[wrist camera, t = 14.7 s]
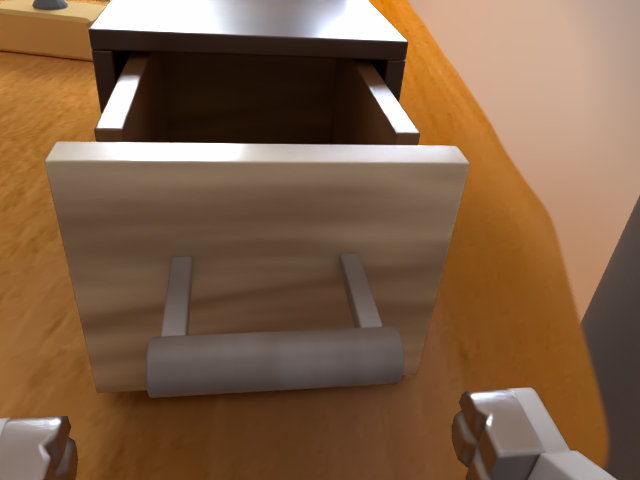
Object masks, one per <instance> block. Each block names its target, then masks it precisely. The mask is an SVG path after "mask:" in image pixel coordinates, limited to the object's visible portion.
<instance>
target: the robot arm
mask: <svg viewBox="0 0 640 480" xmlns="http://www.w3.org/2000/svg"><path fill="white" fill-rule="evenodd" d="M459 404H460V407H461V409H462V410H461V411H460V412H459V413H458V414H456V415H455V416H454V419H453V423H452V442H453V446H454V450H455V453H456V456H457V458H458V460H459V461H460V462H461V463H463V464H464V465H465V466H466V467H467V468H468V471H467V474H466V478H465V479H466V480H617V479H615V478H614V477H612V476H611V475H610V474H608V473H607V472H606V471H604V470H603V469H601V468H600V467H599V466H597V465H596V464H595V463H593V462H592V461H590V460H589V459H588V458H586V457H585V456H584V455H582V454H581V453H579V452H578V451H570V449H569V447H568V446H567V444H566V442H565V441H564V439H563V437H562V435H561V434H560V432H559V430H558V429H557V427H556V425H555V424H554V422H553V420H552V419H551V417H550V415H549V413H548V412H547V410H546V408H545V407H544V405H543V403H542V402H541V400H540V398H539V396H538V395H537V393H536V391H534V390H533V389H532V388H514V389H506V388H505V389H491V390H478V391H465V392H464V393H463V394H462V395H461V398H460V401H459ZM70 429H71V425H70V422H69V419H68V416H50V417H20V418H0V480H76V475H77V464H78V455H77V447H76V443H75V441H74V440H73V439H71V438H69V437H68V436H69V433H70Z"/></svg>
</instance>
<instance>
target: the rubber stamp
mask: <svg viewBox="0 0 640 480" xmlns="http://www.w3.org/2000/svg"><path fill="white" fill-rule="evenodd" d="M106 6H107V5H99V4H90V3H80V2H71V1H64V0H6V1H3V2H0V50H1V51H10V52H19V53H27V54H36V55H45V56H53V57H62V58H70V59H79V60H88V61H93V58H92V50H93V49H91V45H90V39H89V33H88V29H89V28H90V26H91V25H92V24H93V23H94V21H95V20H96V19H97V17H98V16H99V15H100V14H101V12H102V11H103V10H104V9H105V7H106Z"/></svg>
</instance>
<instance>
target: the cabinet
mask: <svg viewBox="0 0 640 480" xmlns="http://www.w3.org/2000/svg"><path fill="white" fill-rule="evenodd" d="M88 33H89V39H90V45H91V49H93V50H92V58H93V64H94V71H95V77H96V84H97V90H98V97H99V103H100V109H101V114H102V112H103V110H104V108H105V106H106V104H107V102H108V100H109V98H110V96H111V93H112V91H113V89H114V87H115V85H116V83H117V81H118V79H119V77H120V75H121V72H122V70H123V68H124V66H125V64H126V62H127V60H128V58H129V56H130V54H131V52H132V51H147V52H175V53H203V54H231V55H260V56H288V57H316V58H344V59H369V61H370V62H371V64H372V65H373V67H374V68H375V69H376V71H377V72H378V74H379V75H380V77H381V78H382V79H383V81H384V82H385V84H386V85H387V87H388V88H389V90H390V91H391V92H392V94H393V95H394V97H395V98H396V100H397V101H398V103H399V98H400V92H401V86H402V80H403V74H404V67H405V61H404V60H405V59H406V54H407V47H408V42H407V40H406V39H405V38H404V37H403V36H402V35H401V34H400V33H399V32H398V31H397V30H396V29H395V28H394V27H393V26H392V25H391V24H390V23H389V22H388V21H387V20H386V19H385V18H384V17H383V16H382V15H381V14H380V13H379V12H378V11H377V9H376V8H375V7H374V6H373V5H372V4H371V3H370V2H369V1H368V0H111V1H110V2H109V3H108V5H107V6H106V7H105V9H104V10H103V11H102V12H101V14H100V15H99V16H98V17H97V19H96V20H95V21H94V23H93V24H92V25H91V26H90V28H89V29H88Z"/></svg>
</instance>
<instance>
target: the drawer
mask: <svg viewBox="0 0 640 480" xmlns="http://www.w3.org/2000/svg"><path fill="white" fill-rule="evenodd" d="M94 132H95V138H96V142H56V143H55V144H54V146H53V148H52V149H51V151H50V153H49V155H48V156H47V158H46V160H45V166H46V170H47V175H48V179H49V184H50V188H51V192H52V197H53V201H54V206H55V210H56V214H57V219H58V223H59V227H60V232H61V236H62V241H63V245H64V249H65V254H66V258H67V263H68V267H69V271H70V276H71V280H72V285H73V289H74V293H75V298H76V302H77V307H78V311H79V315H80V320H81V324H82V328H83V333H84V337H85V342H86V346H87V350H88V355H89V359H90V364H91V368H92V372H93V377H94V381H95V386H96V390H97V393H106V392H123V391H140V390H147V393H148V395H149V397H151V398H157V397H174V396H191V395H208V394H225V393H241V392H258V391H275V390H292V389H309V388H326V387H342V386H359V385H376V384H393V383H398V382H400V381H401V379H402V377H403V375H416V374H417V371H418V367H419V363H420V359H421V355H422V351H423V347H424V343H425V339H426V336H427V332H428V328H429V324H430V320H431V316H432V312H433V308H434V304H435V300H436V296H437V292H438V288H439V284H440V280H441V276H442V272H443V268H444V264H445V261H446V257H447V253H448V249H449V245H450V241H451V237H452V233H453V229H454V225H455V221H456V217H457V213H458V209H459V205H460V201H461V197H462V193H463V189H464V186H465V182H466V178H467V174H468V170H469V166H470V163H469V161H468V160H467V159H466V158H465V156H464V155H463V154H462V153H461V151H460V150H459V149H458V148H457V146H418V142H419V137H420V133H419V131H418V130H417V128H416V127H415V126H414V124H413V123H412V121H411V120H410V118H409V117H408V115H407V114H406V113H405V111H404V110H403V108H402V107H401V105H400V104H399V103H398V101H397V100H396V98H395V97H394V95H393V94H392V92H391V91H390V90H389V88H388V87H387V85H386V84H385V82H384V81H383V79H382V78H381V77H380V75H379V74H378V72H377V71H376V69H375V68H374V67H373V65H372V64H371V62H370V61H369V59H344V58H316V57H288V56H260V55H231V54H203V53H175V52H147V51H132V52H131V54H130V56H129V58H128V60H127V62H126V64H125V66H124V68H123V70H122V72H121V75H120V77H119V79H118V81H117V83H116V85H115V87H114V89H113V91H112V93H111V96H110V98H109V100H108V102H107V104H106V106H105V108H104V110H103V112H102V114H101V116H100V119H99V121H98V123H97V125H96V127H95V129H94Z"/></svg>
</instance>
